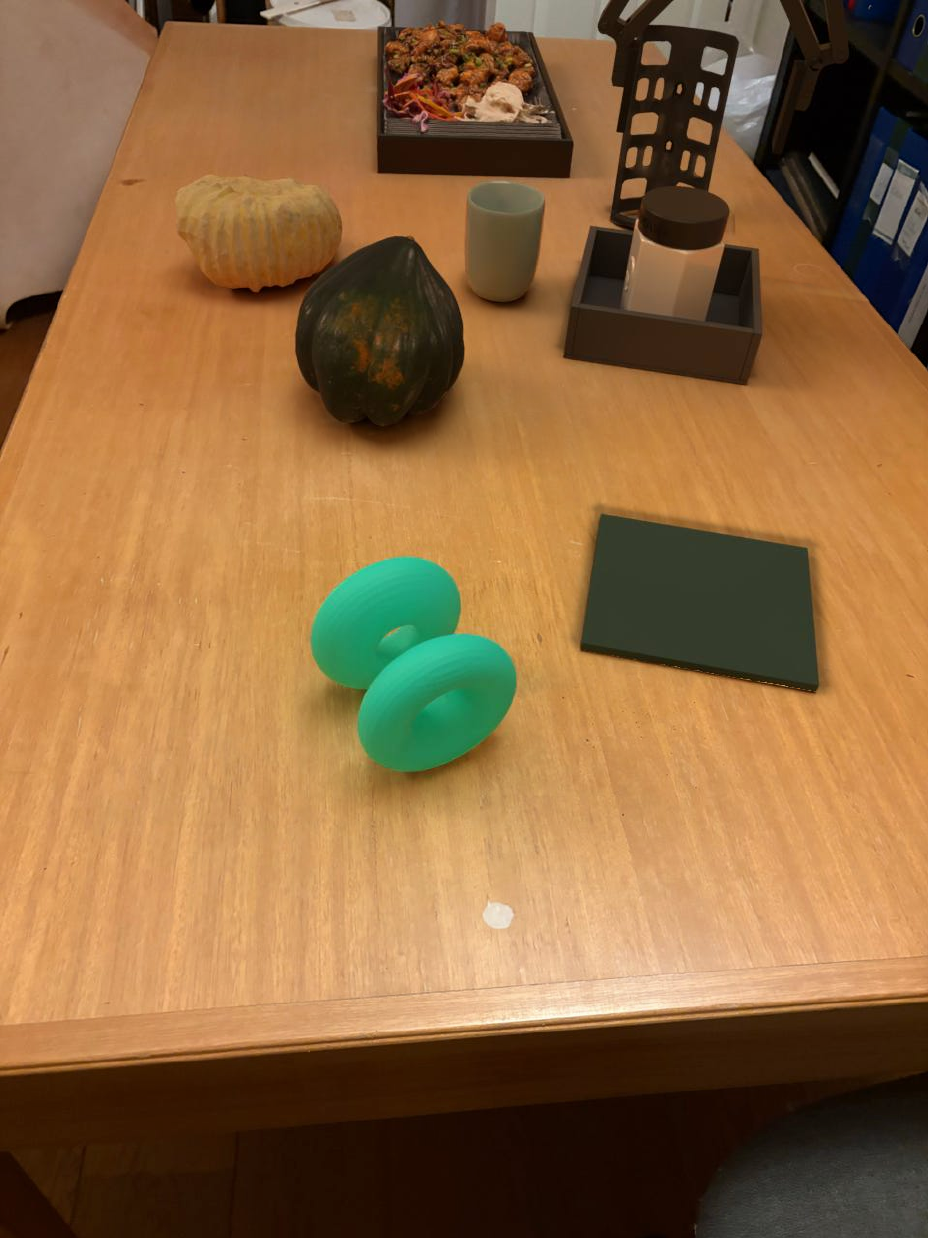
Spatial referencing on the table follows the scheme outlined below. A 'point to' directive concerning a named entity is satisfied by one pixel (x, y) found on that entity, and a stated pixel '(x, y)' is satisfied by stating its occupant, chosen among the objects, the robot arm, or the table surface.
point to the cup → (503, 238)
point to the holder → (674, 113)
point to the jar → (675, 252)
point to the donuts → (412, 664)
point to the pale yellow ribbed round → (257, 229)
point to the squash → (380, 334)
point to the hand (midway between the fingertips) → (698, 138)
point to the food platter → (467, 104)
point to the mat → (702, 602)
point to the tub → (665, 317)
